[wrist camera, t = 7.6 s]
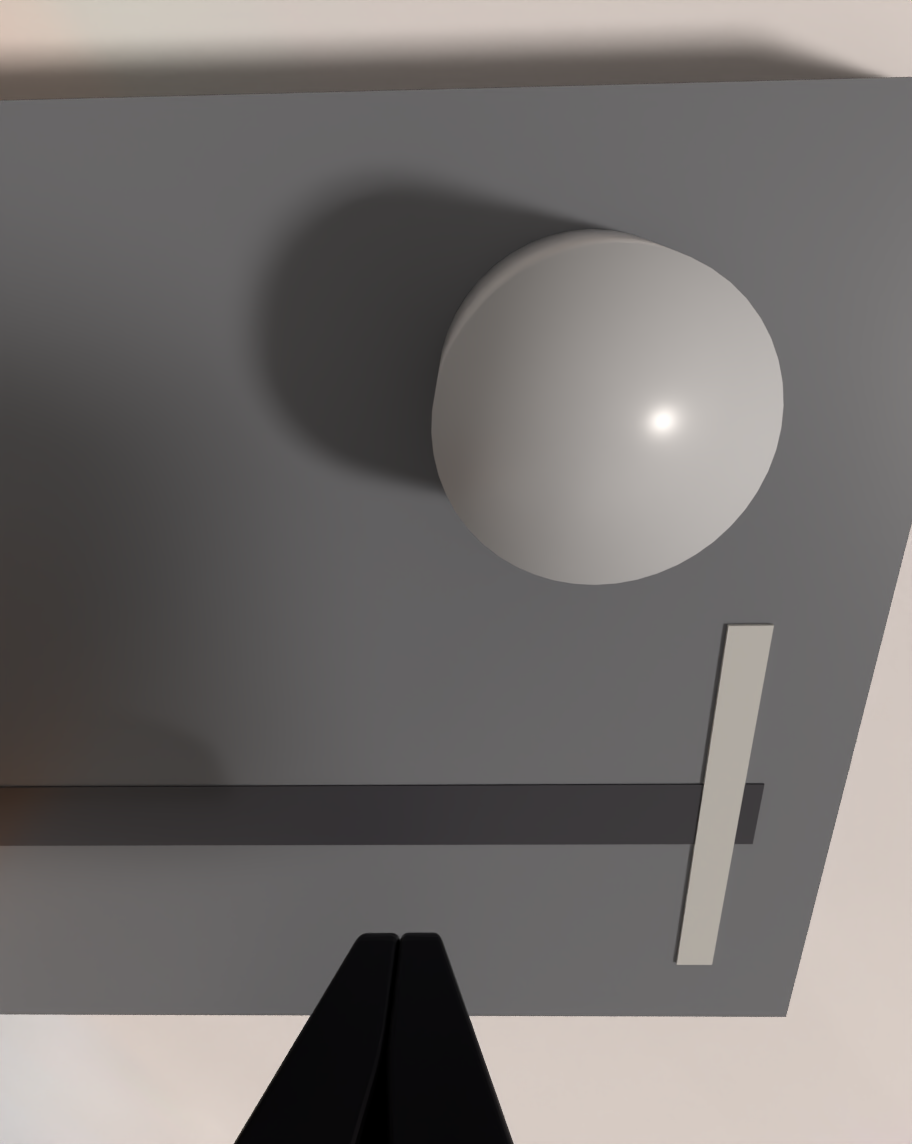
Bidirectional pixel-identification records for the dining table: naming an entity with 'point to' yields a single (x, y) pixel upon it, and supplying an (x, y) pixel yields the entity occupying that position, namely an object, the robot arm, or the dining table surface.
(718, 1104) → the dining table surface
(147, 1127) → the dining table surface
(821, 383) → the board
